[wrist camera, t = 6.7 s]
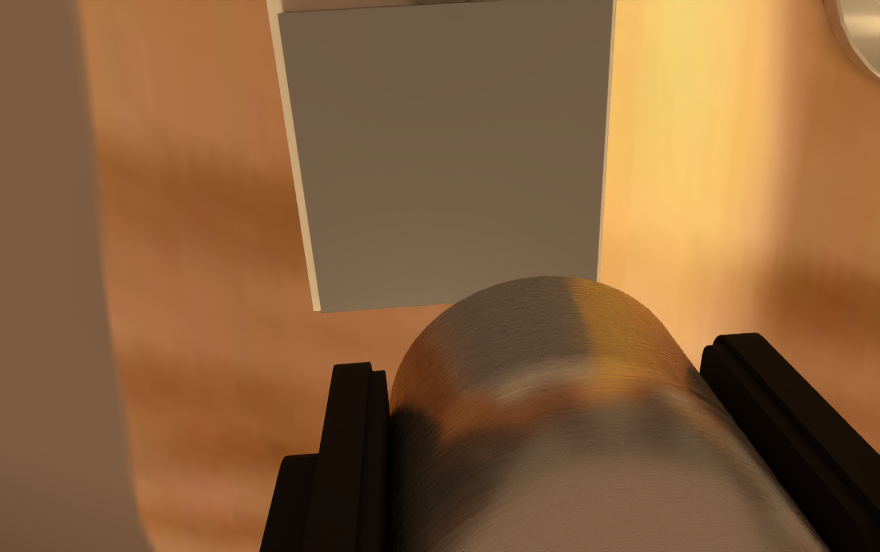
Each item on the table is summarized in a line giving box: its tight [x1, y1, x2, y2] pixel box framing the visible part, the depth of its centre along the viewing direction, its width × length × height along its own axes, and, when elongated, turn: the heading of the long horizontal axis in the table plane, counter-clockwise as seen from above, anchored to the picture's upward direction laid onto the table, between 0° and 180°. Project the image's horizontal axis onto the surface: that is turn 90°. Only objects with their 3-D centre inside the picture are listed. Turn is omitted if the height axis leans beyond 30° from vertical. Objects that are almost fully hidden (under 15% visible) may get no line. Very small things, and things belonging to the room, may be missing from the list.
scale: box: [266, 0, 617, 313], centre depth 24 cm, size 12×16×4 cm
